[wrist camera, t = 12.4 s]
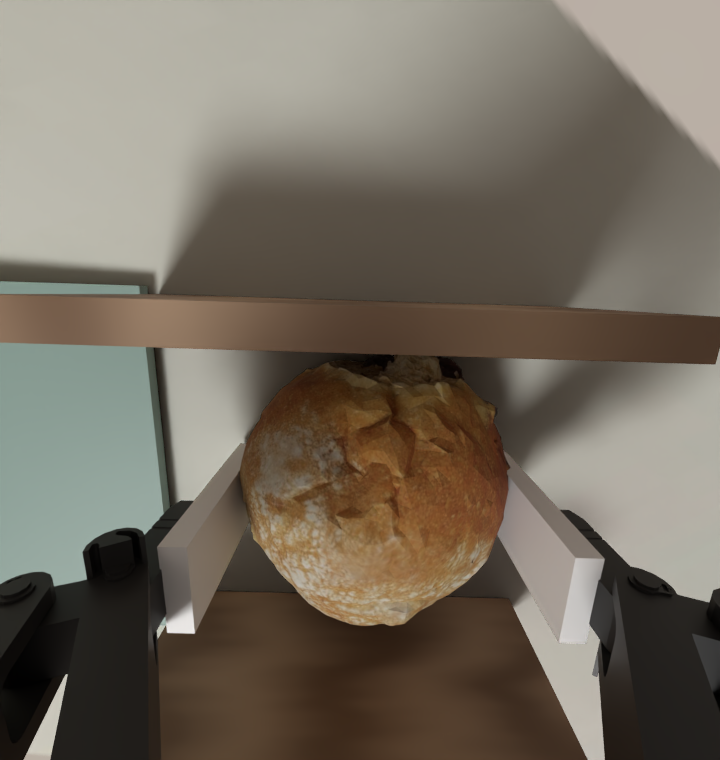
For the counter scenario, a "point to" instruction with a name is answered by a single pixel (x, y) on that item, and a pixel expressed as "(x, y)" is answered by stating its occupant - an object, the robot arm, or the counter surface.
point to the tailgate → (75, 446)
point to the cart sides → (306, 623)
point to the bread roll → (376, 485)
